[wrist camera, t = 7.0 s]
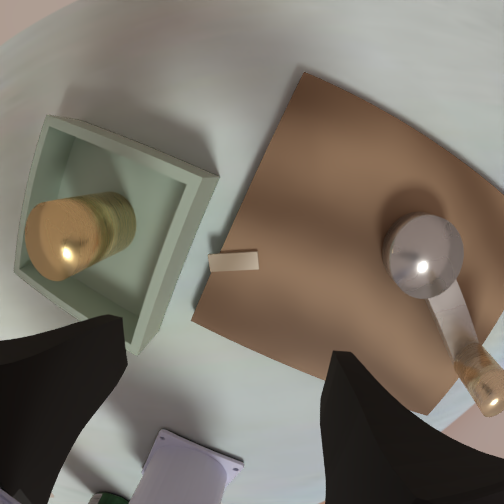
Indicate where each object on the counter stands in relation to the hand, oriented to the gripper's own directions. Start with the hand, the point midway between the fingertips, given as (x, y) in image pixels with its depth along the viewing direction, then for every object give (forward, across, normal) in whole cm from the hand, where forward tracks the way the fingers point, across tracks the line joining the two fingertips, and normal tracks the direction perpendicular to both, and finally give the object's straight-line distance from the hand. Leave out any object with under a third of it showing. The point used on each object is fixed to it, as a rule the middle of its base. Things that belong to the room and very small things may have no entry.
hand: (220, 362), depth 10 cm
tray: (+9, +10, -2) cm, 14 cm away
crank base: (+9, -8, -1) cm, 12 cm away
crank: (+8, -11, 0) cm, 14 cm away
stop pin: (+9, +10, -2) cm, 13 cm away
